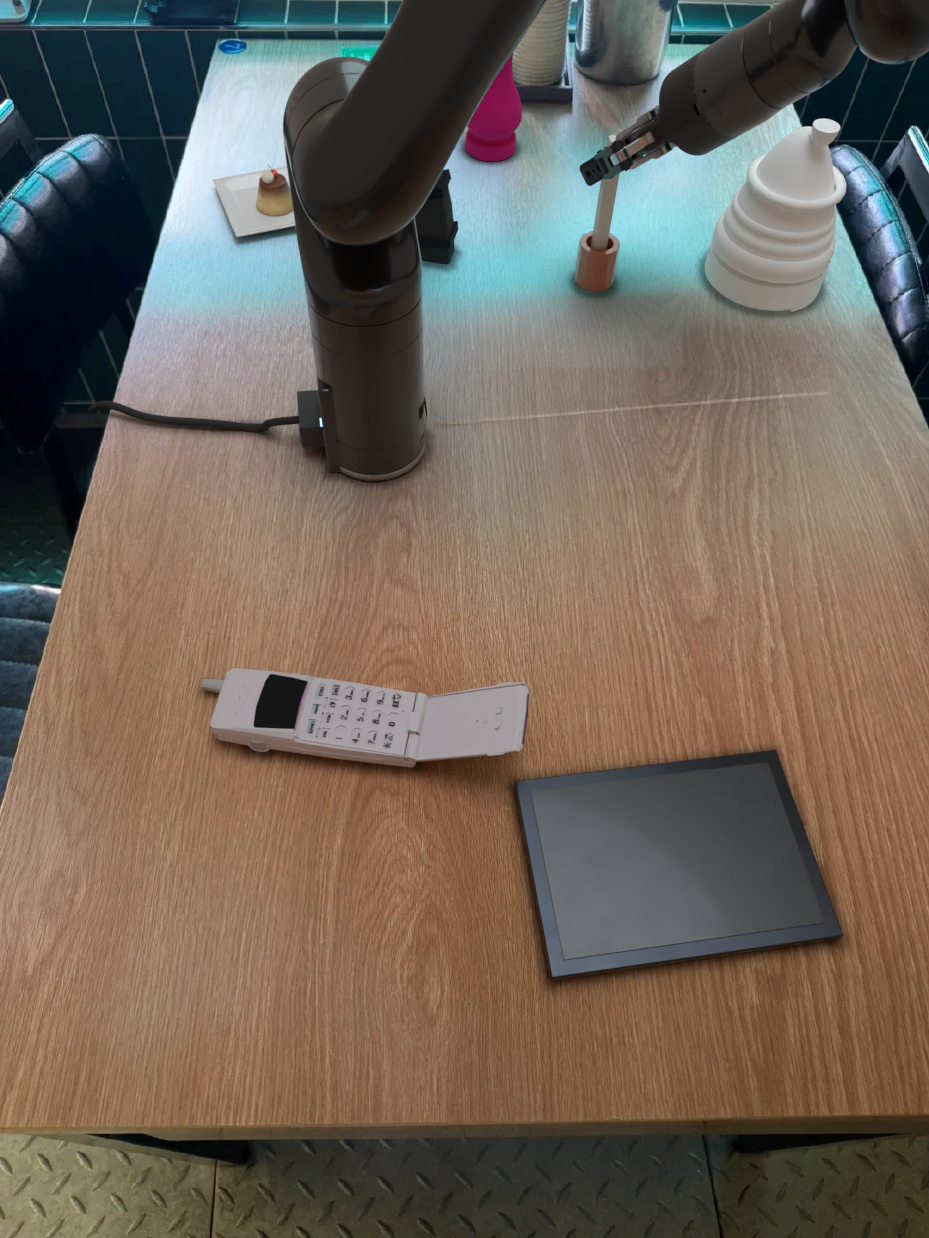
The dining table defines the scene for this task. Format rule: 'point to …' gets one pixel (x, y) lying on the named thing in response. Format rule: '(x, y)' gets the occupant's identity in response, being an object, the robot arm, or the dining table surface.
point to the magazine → (437, 223)
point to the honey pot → (780, 224)
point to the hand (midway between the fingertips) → (593, 170)
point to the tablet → (670, 864)
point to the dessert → (257, 201)
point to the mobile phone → (366, 718)
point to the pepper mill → (496, 119)
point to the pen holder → (596, 264)
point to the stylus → (604, 209)
